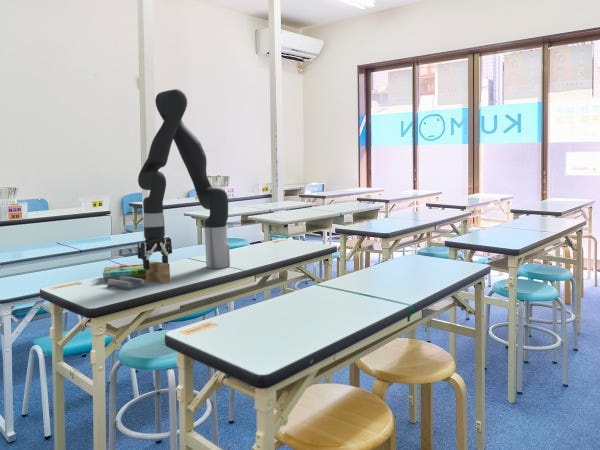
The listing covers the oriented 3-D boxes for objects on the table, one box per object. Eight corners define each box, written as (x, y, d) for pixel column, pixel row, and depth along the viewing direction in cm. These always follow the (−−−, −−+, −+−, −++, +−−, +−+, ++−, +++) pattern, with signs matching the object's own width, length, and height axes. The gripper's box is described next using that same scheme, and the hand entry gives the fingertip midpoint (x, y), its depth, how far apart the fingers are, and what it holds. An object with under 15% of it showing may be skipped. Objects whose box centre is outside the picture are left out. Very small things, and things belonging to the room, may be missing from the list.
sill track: (107, 286, 186) (106, 279, 186) (123, 282, 192) (122, 275, 192) (128, 290, 180) (127, 283, 179) (144, 286, 186) (143, 279, 185)
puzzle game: (104, 265, 202) (156, 261, 208) (105, 277, 203) (157, 272, 209) (102, 271, 191) (157, 266, 197) (103, 283, 192) (158, 278, 198)
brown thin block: (146, 280, 195) (145, 262, 194) (152, 278, 197) (151, 261, 196) (164, 283, 189) (163, 265, 188) (170, 281, 191) (169, 263, 190)
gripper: (162, 222, 198) (164, 263, 200) (131, 226, 186) (133, 269, 188) (175, 223, 194) (177, 265, 196) (145, 227, 182) (147, 272, 184)
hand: (156, 267), depth 192 cm, fingers open, 8 cm apart
